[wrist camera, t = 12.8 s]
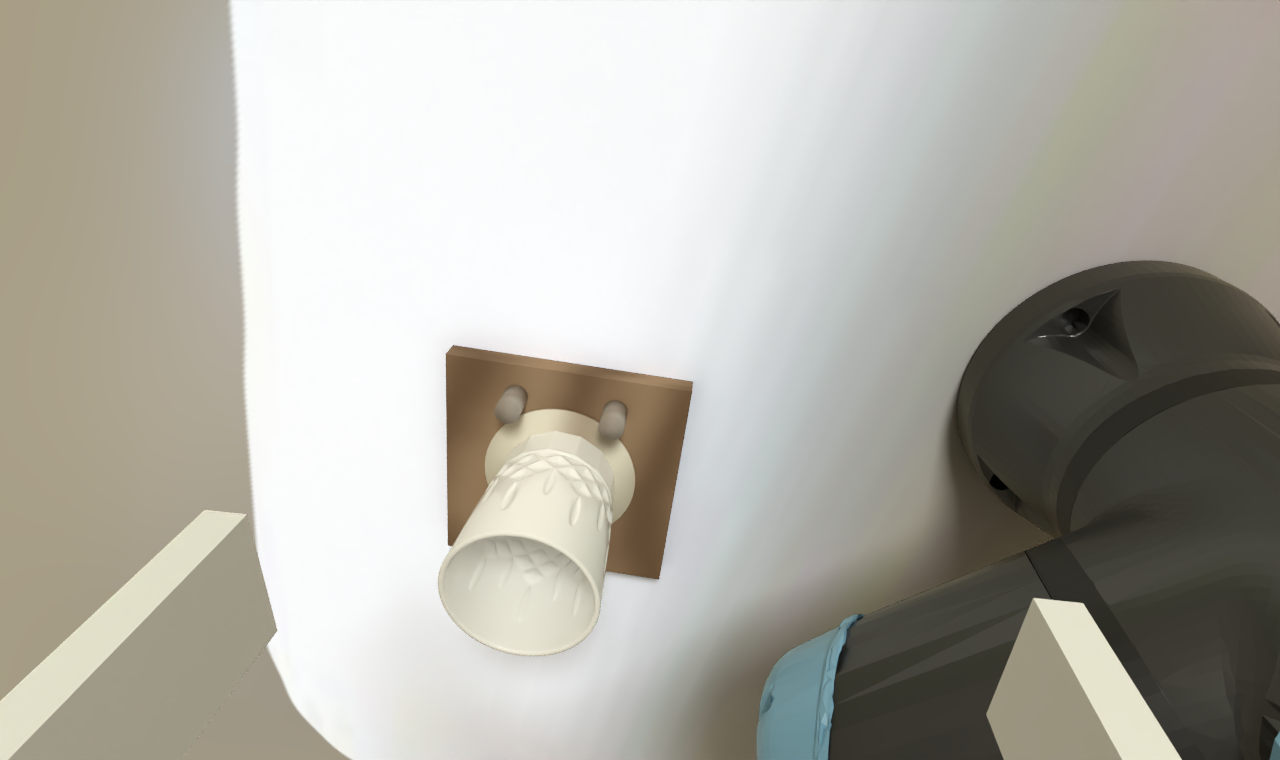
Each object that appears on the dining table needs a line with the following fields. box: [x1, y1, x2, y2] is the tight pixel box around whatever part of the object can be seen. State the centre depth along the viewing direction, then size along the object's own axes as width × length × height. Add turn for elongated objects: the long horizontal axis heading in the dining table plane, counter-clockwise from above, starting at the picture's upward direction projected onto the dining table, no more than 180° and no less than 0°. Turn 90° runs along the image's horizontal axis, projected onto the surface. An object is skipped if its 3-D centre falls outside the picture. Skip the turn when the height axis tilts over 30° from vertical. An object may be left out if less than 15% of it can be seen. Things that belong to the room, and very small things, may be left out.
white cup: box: [438, 431, 615, 656], centre depth 38 cm, size 8×8×10 cm
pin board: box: [446, 345, 693, 579], centre depth 42 cm, size 14×14×3 cm
